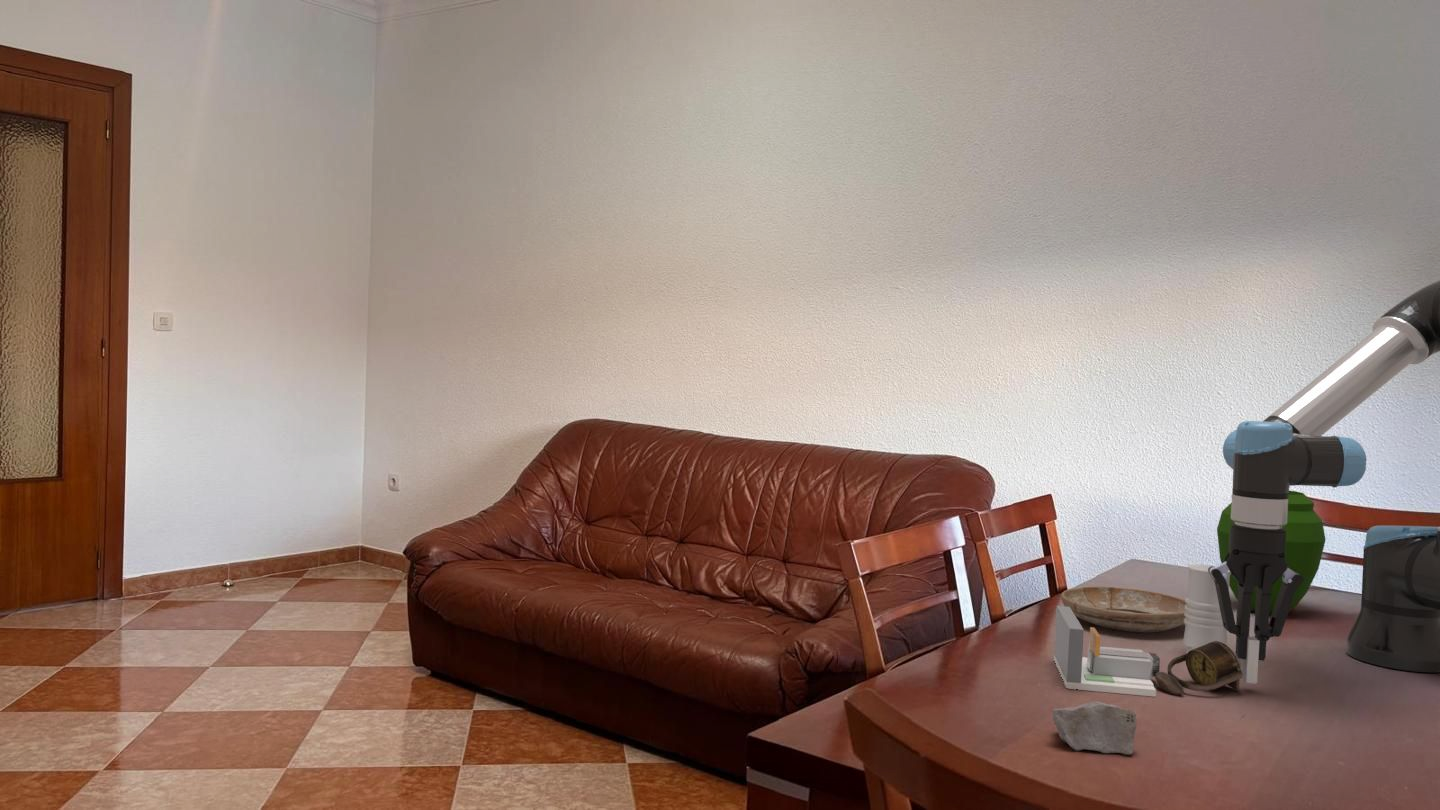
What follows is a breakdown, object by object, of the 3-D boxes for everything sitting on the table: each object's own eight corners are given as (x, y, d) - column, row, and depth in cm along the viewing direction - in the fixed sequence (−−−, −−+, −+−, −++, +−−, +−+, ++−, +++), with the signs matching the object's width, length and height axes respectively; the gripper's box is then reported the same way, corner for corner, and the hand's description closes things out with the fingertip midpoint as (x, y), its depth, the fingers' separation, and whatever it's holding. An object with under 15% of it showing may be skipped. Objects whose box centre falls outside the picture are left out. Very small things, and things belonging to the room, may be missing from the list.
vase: (1323, 609, 216) (1330, 491, 215) (1317, 628, 199) (1325, 500, 198) (1219, 595, 226) (1225, 482, 225) (1205, 611, 210) (1213, 490, 209)
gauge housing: (1135, 667, 168) (1138, 612, 167) (1155, 696, 153) (1159, 635, 153) (1053, 660, 170) (1056, 605, 170) (1066, 688, 155) (1069, 628, 155)
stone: (1054, 728, 138) (1057, 684, 138) (1134, 742, 135) (1138, 697, 134) (1049, 748, 131) (1052, 701, 130) (1134, 763, 127) (1137, 716, 127)
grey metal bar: (1154, 671, 161) (1156, 632, 161) (1163, 682, 156) (1165, 641, 155) (1086, 665, 163) (1088, 626, 163) (1092, 676, 158) (1094, 636, 157)
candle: (1234, 664, 172) (1240, 573, 171) (1191, 662, 172) (1196, 571, 172) (1217, 652, 179) (1222, 565, 178) (1175, 650, 179) (1180, 563, 178)
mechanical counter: (1262, 667, 152) (1232, 634, 162) (1174, 655, 152) (1150, 623, 162) (1249, 710, 154) (1220, 675, 163) (1162, 698, 154) (1139, 664, 164)
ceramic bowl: (1162, 612, 208) (1164, 587, 208) (1215, 644, 185) (1216, 616, 185) (1045, 607, 209) (1046, 582, 209) (1082, 638, 185) (1084, 610, 185)
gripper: (1296, 523, 159) (1287, 677, 160) (1204, 518, 161) (1196, 669, 162) (1314, 531, 152) (1304, 692, 153) (1218, 525, 154) (1209, 683, 155)
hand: (1248, 680), depth 157 cm, fingers closed
